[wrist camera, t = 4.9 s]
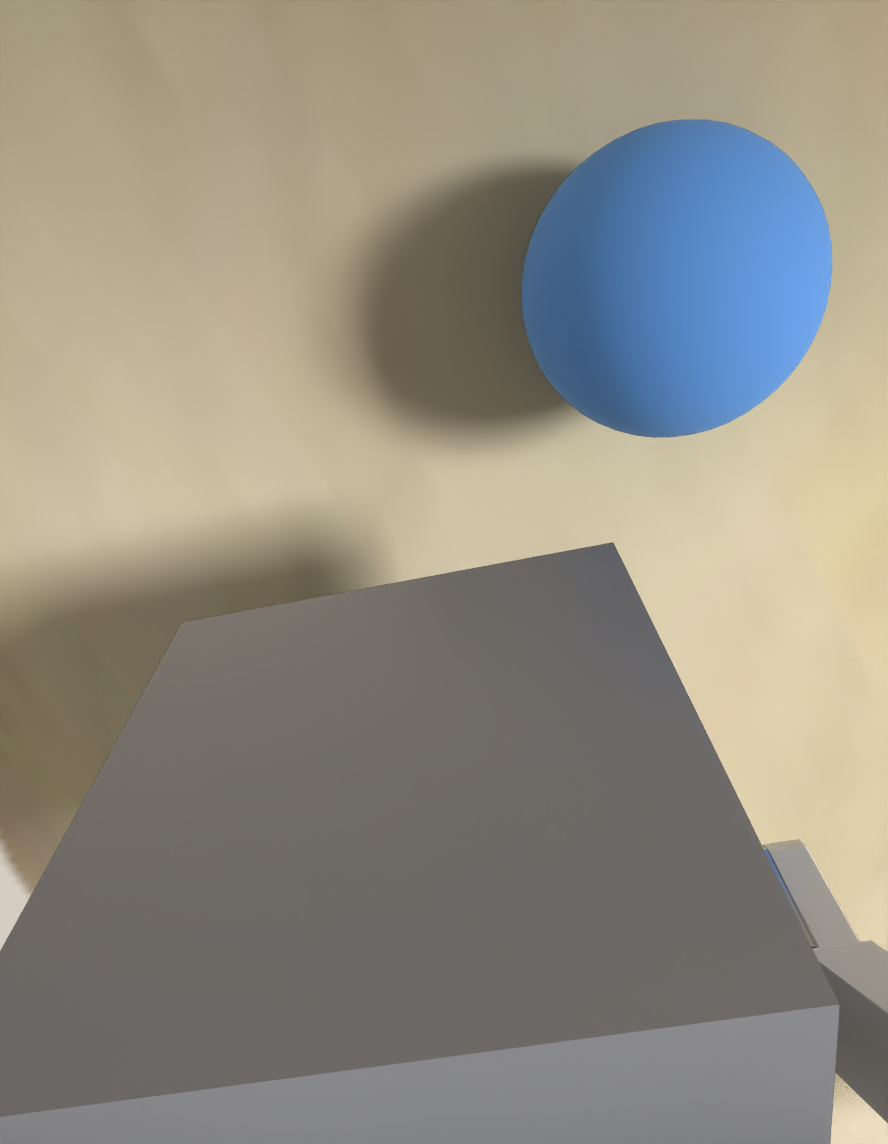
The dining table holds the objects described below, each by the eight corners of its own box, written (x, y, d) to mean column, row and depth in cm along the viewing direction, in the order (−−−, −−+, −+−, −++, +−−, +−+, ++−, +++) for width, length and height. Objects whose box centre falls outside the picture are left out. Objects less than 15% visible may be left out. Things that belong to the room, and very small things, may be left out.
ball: (754, 102, 14) (912, 62, 10) (759, 371, 16) (889, 441, 12) (487, 163, 14) (517, 153, 10) (527, 419, 17) (567, 505, 12)
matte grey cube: (612, 542, 12) (839, 1004, 6) (647, 856, 16) (813, 1385, 9) (182, 622, 13) (-99, 1130, 6) (304, 908, 16) (211, 1443, 10)
